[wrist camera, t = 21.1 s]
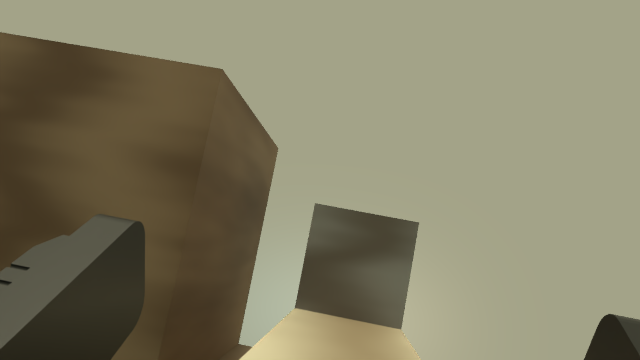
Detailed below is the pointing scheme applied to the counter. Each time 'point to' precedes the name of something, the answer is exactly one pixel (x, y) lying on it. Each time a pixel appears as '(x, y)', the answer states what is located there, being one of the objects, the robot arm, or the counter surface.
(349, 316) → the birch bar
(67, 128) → the walnut step stand
